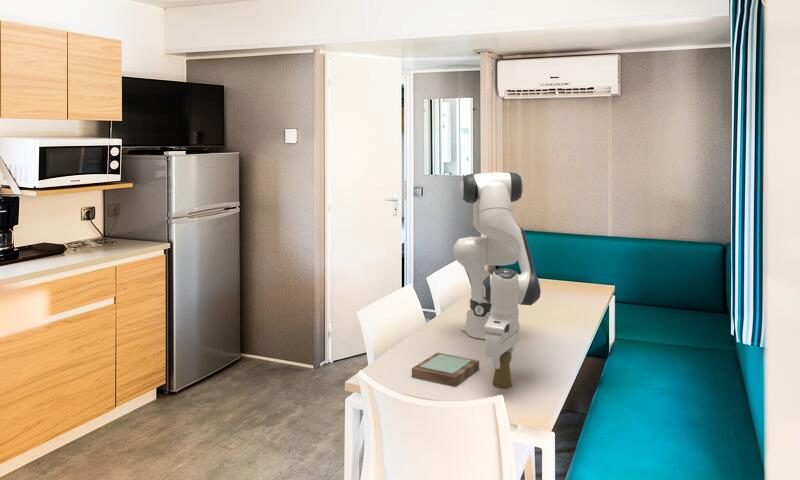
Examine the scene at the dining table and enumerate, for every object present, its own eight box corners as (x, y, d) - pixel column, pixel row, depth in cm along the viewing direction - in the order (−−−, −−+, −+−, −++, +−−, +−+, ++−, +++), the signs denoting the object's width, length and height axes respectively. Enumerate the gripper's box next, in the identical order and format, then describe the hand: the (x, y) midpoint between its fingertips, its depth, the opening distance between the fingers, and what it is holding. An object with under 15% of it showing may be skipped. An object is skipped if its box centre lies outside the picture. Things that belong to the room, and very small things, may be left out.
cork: (509, 381, 210) (510, 348, 208) (513, 388, 204) (514, 354, 202) (491, 381, 210) (492, 348, 208) (494, 388, 204) (495, 354, 202)
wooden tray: (437, 360, 229) (437, 351, 228) (479, 369, 221) (479, 359, 220) (411, 376, 213) (411, 367, 213) (455, 386, 205) (455, 376, 205)
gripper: (506, 311, 214) (505, 352, 216) (481, 327, 197) (480, 371, 199) (525, 314, 211) (523, 355, 213) (501, 330, 193) (500, 375, 196)
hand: (502, 363), depth 206 cm, fingers open, 8 cm apart
